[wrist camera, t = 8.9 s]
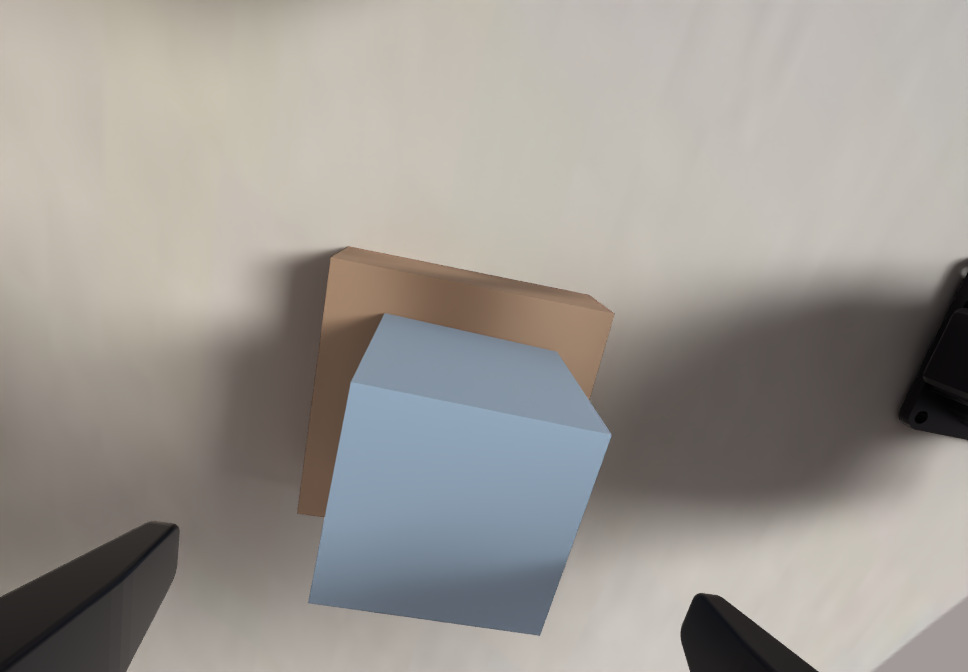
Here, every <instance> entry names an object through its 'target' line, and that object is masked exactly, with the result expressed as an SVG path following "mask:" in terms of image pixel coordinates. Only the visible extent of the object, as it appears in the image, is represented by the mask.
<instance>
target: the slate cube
mask: <svg viewBox="0 0 968 672" xmlns="http://www.w3.org/2000/svg"><path fill="white" fill-rule="evenodd" d="M611 436H612V434H611V433H610V431H609V430H608V428H607V427H606V425H605V424H604V422H603V421H602V419H601V418H600V416H599V415H598V413H597V412H596V410H595V409H594V407H593V406H592V404H591V402H590V401H589V399H588V398H587V396H586V395H585V393H584V392H583V390H582V389H581V387H580V386H579V384H578V383H577V381H576V380H575V378H574V377H573V375H572V374H571V372H570V371H569V369H568V368H567V366H566V365H565V363H564V361H563V360H562V358H561V357H560V355H559V354H558V352H556V351H552V350H547V349H543V348H539V347H534V346H530V345H525V344H521V343H516V342H512V341H507V340H503V339H498V338H494V337H489V336H485V335H481V334H476V333H472V332H467V331H463V330H458V329H454V328H449V327H445V326H440V325H436V324H431V323H427V322H423V321H418V320H414V319H409V318H405V317H400V316H396V315H391V314H387V313H385V314H384V316H383V318H382V320H381V322H380V324H379V326H378V328H377V330H376V332H375V334H374V336H373V338H372V340H371V342H370V344H369V346H368V348H367V350H366V352H365V354H364V356H363V358H362V360H361V362H360V364H359V366H358V369H357V371H356V373H355V375H354V377H353V379H352V381H351V384H350V389H349V394H348V400H347V405H346V410H345V415H344V420H343V426H342V431H341V436H340V441H339V446H338V451H337V457H336V462H335V467H334V472H333V477H332V483H331V488H330V493H329V498H328V503H327V508H326V514H325V519H324V524H323V529H322V534H321V539H320V545H319V550H318V555H317V560H316V565H315V571H314V576H313V581H312V586H311V591H310V596H309V602H308V603H311V604H318V605H326V606H333V607H340V608H347V609H354V610H361V611H368V612H375V613H382V614H390V615H397V616H404V617H411V618H418V619H425V620H432V621H439V622H446V623H454V624H461V625H468V626H475V627H482V628H489V629H496V630H503V631H510V632H518V633H525V634H532V635H539V636H540V634H541V631H542V629H543V626H544V623H545V620H546V617H547V615H548V612H549V609H550V606H551V603H552V601H553V598H554V595H555V592H556V590H557V587H558V584H559V581H560V578H561V576H562V573H563V570H564V567H565V564H566V562H567V559H568V556H569V553H570V550H571V548H572V545H573V542H574V539H575V536H576V534H577V531H578V528H579V525H580V522H581V520H582V517H583V514H584V511H585V509H586V506H587V503H588V500H589V497H590V495H591V492H592V489H593V486H594V483H595V481H596V478H597V475H598V472H599V469H600V467H601V464H602V461H603V458H604V455H605V453H606V450H607V447H608V444H609V441H610V439H611Z"/></svg>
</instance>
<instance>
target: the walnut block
mask: <svg viewBox="0 0 968 672" xmlns="http://www.w3.org/2000/svg"><path fill="white" fill-rule="evenodd" d="M385 313H387V314H391V315H396V316H400V317H405V318H409V319H414V320H418V321H423V322H427V323H431V324H436V325H440V326H445V327H449V328H454V329H458V330H463V331H467V332H472V333H476V334H481V335H485V336H489V337H494V338H498V339H503V340H507V341H512V342H516V343H521V344H525V345H530V346H534V347H539V348H543V349H547V350H552V351H556V352H558V354H559V355H560V357H561V358H562V360H563V361H564V363H565V365H566V366H567V368H568V369H569V371H570V372H571V374H572V375H573V377H574V378H575V380H576V381H577V383H578V384H579V386H580V387H581V389H582V390H583V392H584V393H585V395H586V396H587V398H588V399H590V396H591V393H592V389H593V386H594V382H595V379H596V376H597V372H598V369H599V365H600V362H601V358H602V355H603V352H604V348H605V345H606V341H607V338H608V335H609V331H610V328H611V324H612V321H613V317H614V314H615V313H613V312H612V311H610V310H609V309H608V308H606V307H605V306H604V305H602V304H601V303H599V302H598V301H597V300H595V299H594V298H593V297H591V296H590V295H587V294H582V293H577V292H572V291H567V290H562V289H557V288H552V287H547V286H542V285H537V284H532V283H527V282H522V281H517V280H513V279H508V278H503V277H498V276H493V275H488V274H483V273H478V272H473V271H468V270H463V269H458V268H453V267H448V266H443V265H438V264H433V263H428V262H423V261H418V260H414V259H409V258H404V257H399V256H394V255H389V254H384V253H379V252H374V251H369V250H364V249H359V248H354V247H349V246H348V247H347V248H345V249H344V250H342V251H340V252H339V253H337V254H335V255H334V256H332V257H331V260H330V267H329V275H328V282H327V290H326V298H325V305H324V313H323V321H322V328H321V336H320V343H319V351H318V359H317V366H316V374H315V382H314V389H313V397H312V404H311V412H310V420H309V427H308V435H307V443H306V450H305V458H304V465H303V473H302V481H301V488H300V496H299V504H298V511H297V514H305V515H312V516H320V517H325V514H326V508H327V503H328V498H329V493H330V488H331V483H332V477H333V472H334V467H335V462H336V457H337V451H338V446H339V441H340V436H341V431H342V426H343V420H344V415H345V410H346V405H347V400H348V394H349V389H350V384H351V381H352V379H353V377H354V375H355V373H356V371H357V369H358V366H359V364H360V362H361V360H362V358H363V356H364V354H365V352H366V350H367V348H368V346H369V344H370V342H371V340H372V338H373V336H374V334H375V332H376V330H377V328H378V326H379V324H380V322H381V320H382V318H383V316H384V314H385Z"/></svg>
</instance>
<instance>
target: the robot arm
mask: <svg viewBox="0 0 968 672" xmlns="http://www.w3.org/2000/svg"><path fill="white" fill-rule="evenodd" d="M899 420H900V421H901V422H902V423H903V424H905V425H907V426H909V427H911V428H913V429H915V430H920V431H926V432H931V433H936V434H941V435H946V436H951V437H956V438H962V439H967V440H968V273H967V275H966V277H965V279H964V281H963V283H962V285H961V287H960V289H959V291H958V293H957V295H956V297H955V299H954V301H953V303H952V306H951V308H950V310H949V312H948V314H947V316H946V318H945V320H944V322H943V324H942V326H941V328H940V330H939V332H938V334H937V336H936V338H935V340H934V342H933V344H932V346H931V348H930V351H929V353H928V355H927V357H926V359H925V361H924V363H923V365H922V367H921V369H920V371H919V373H918V375H917V377H916V379H915V381H914V383H913V385H912V387H911V389H910V391H909V393H908V395H907V398H906V400H905V402H904V404H903V406H902V408H901V410H900V413H899ZM178 546H179V527H178V526H177V525H176V524H172V523H165V522H157V521H151V522H147V523H145V524H143V525H141V526H139V527H137V528H135V529H133V530H131V531H129V532H127V533H125V534H123V535H121V536H119V537H117V538H116V539H114V540H112V541H110V542H108V543H106V544H104V545H102V546H100V547H98V548H96V549H94V550H92V551H90V552H88V553H86V554H84V555H82V556H80V557H78V558H76V559H74V560H72V561H70V562H68V563H66V564H64V565H62V566H60V567H58V568H57V569H55V570H53V571H51V572H49V573H47V574H45V575H43V576H41V577H39V578H37V579H35V580H33V581H31V582H29V583H27V584H25V585H23V586H21V587H19V588H17V589H15V590H13V591H11V592H9V593H7V594H5V595H3V596H1V597H0V672H126V670H127V669H128V667H129V665H130V663H131V661H132V659H133V657H134V655H135V653H136V651H137V649H138V647H139V645H140V644H141V642H142V640H143V638H144V636H145V634H146V632H147V630H148V628H149V626H150V624H151V622H152V620H153V618H154V616H155V614H156V613H157V611H158V609H159V607H160V605H161V603H162V601H163V599H164V597H165V595H166V593H167V591H168V589H169V587H170V585H171V583H172V581H173V579H174V576H175V573H176V569H177V559H178ZM681 642H682V646H683V649H684V653H685V656H686V660H687V663H688V666H689V670H690V672H818V671H817V670H816V669H814V668H813V667H812V666H810V665H809V664H808V663H807V662H805V661H804V660H803V659H801V658H800V657H799V656H797V655H796V654H795V653H794V652H792V651H791V650H790V649H788V648H787V647H786V646H784V645H783V644H782V643H781V642H779V641H778V640H777V639H775V638H774V637H773V636H772V635H770V634H769V633H768V632H766V631H765V630H764V629H762V628H761V627H760V626H759V625H757V624H756V623H755V622H753V621H752V620H751V619H749V618H748V617H747V616H746V615H744V614H743V613H742V612H740V611H739V610H738V609H736V608H735V607H734V606H733V605H731V604H730V603H729V602H727V601H726V600H725V599H724V598H722V597H720V596H718V595H713V594H705V593H699V594H697V595H695V596H694V598H693V600H692V602H691V605H690V607H689V609H688V612H687V614H686V617H685V619H684V621H683V624H682V627H681Z"/></svg>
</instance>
